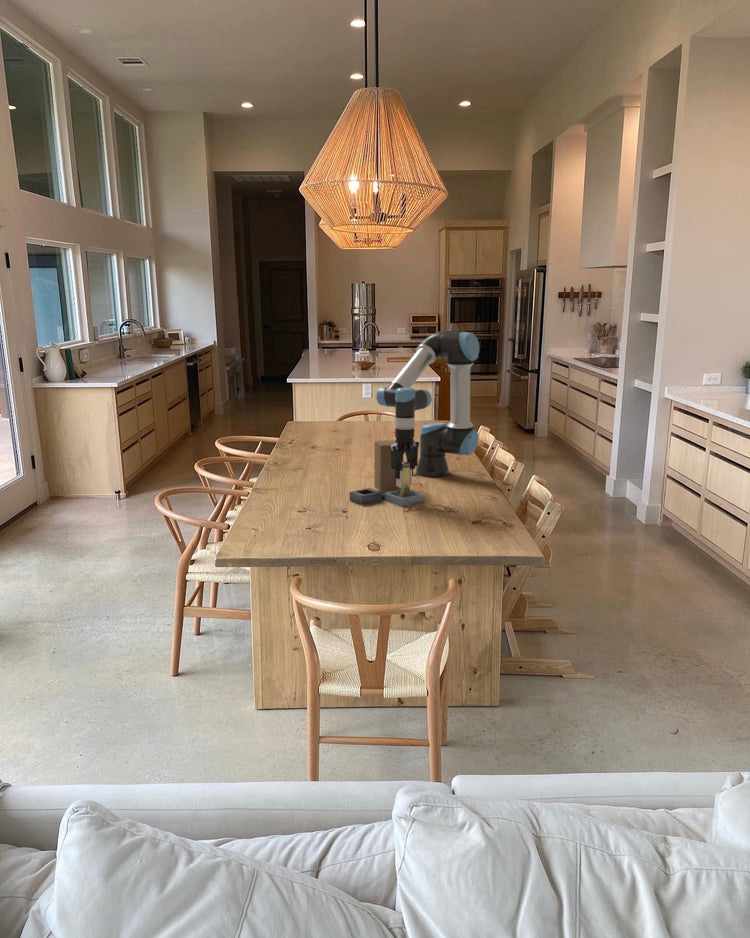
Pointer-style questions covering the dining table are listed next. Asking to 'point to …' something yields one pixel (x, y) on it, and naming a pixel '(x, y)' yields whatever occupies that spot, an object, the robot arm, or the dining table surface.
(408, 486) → the pin
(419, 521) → the dining table surface
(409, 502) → the tray
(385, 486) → the wooden block
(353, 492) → the bar
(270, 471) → the dining table surface
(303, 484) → the dining table surface
